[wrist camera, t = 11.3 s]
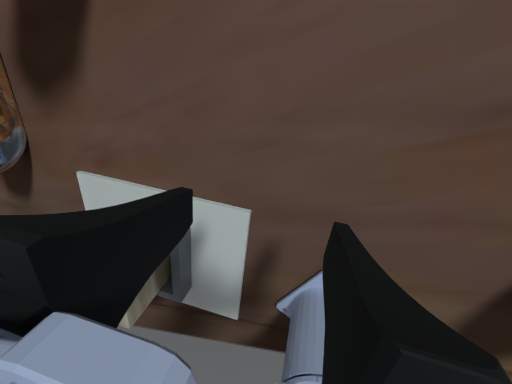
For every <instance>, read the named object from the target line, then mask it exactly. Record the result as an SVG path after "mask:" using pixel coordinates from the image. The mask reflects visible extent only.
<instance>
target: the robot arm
mask: <svg viewBox="0 0 512 384" xmlns="http://www.w3.org/2000/svg"><path fill="white" fill-rule="evenodd" d="M192 223H193V189H188V188H184V187H180V188H175V189H171V190H168V191H165V192H161V193H158V194H155V195H152V196H149V197H145V198H142V199H138V200H134V201H131V202H127V203H123V204H119V205H115V206H110V207H105V208H99V209H93V210H85V211H78V212H70V213H59V214H44V215H0V384H196V380H195V378H194V375H193V373H192V371H191V368H190V366H189V365H188V364H187V363H186V362H185V361H184V360H183V359H182V358H181V357H180V356H179V355H178V354H177V353H175V352H173V351H171V350H170V349H168V348H166V347H164V346H162V345H160V344H158V343H155V342H153V341H150V340H147V339H144V338H142V337H138V336H136V335H133V334H130V333H128V332H125V331H122V330H119V329H116V328H117V327H118V325H119V323H120V322H121V320H122V318H123V317H124V315H125V313H126V312H127V310H128V309H129V307H130V306H131V304H132V303H133V301H134V300H135V298H136V297H137V295H138V293H139V292H140V291H141V289H142V288H143V286H144V285H145V283H146V282H147V280H148V279H149V278H150V276H151V275H152V274H153V272H154V271H155V270H156V269H157V267H158V266H159V265H160V264H161V263H162V262H163V261H164V259H165V258H166V257H167V256H168V255H169V254H170V253H171V251H172V250H173V249H174V248H175V247H176V246H177V244H178V243H179V242H180V241H181V240H182V238H183V237H184V236H185V234H186V233H187V231H188V230H189V228H190V226H191V225H192ZM276 307H277V309H279V310H280V311H281V312H283V313H284V314H285V315H287V316H288V317H289V318H290V325H289V332H288V339H287V346H286V353H285V361H284V368H283V375H282V382H281V383H274V384H512V382H511V381H510V379H509V377H508V376H507V374H506V372H505V371H504V369H503V368H502V366H501V364H500V363H499V361H498V360H497V359H496V358H495V357H493V356H492V355H490V354H489V353H487V352H486V351H484V350H483V349H481V348H480V347H478V346H477V345H475V344H473V343H472V342H470V341H469V340H467V339H466V338H464V337H463V336H461V335H460V334H458V333H457V332H455V331H454V330H453V329H451V328H450V327H449V326H447V325H446V324H444V323H443V322H442V321H440V320H439V319H438V318H436V317H435V316H434V315H432V314H431V313H430V312H429V311H427V310H426V309H425V308H424V307H422V306H421V305H420V304H419V303H418V302H416V301H415V300H414V299H413V298H412V297H410V296H409V295H408V294H407V293H406V292H405V291H404V290H403V289H402V288H400V287H399V286H398V285H397V284H396V283H395V282H394V281H393V280H392V279H391V278H390V277H389V276H388V275H387V274H386V273H385V272H384V270H383V269H382V268H381V267H380V266H379V265H378V264H377V262H376V261H375V260H374V259H373V258H372V257H371V255H370V254H369V253H368V252H367V250H366V249H365V248H364V246H363V245H362V244H361V242H360V241H359V239H358V238H357V237H356V235H355V234H354V232H353V231H352V230H351V228H350V227H349V225H347V224H343V223H339V222H334V224H333V228H332V231H331V234H330V237H329V240H328V244H327V247H326V250H325V253H324V260H323V271H321V272H319V273H318V274H316V275H315V276H314V277H312V278H311V279H309V280H308V281H307V282H305V283H304V284H302V285H301V286H300V287H298V288H297V289H295V290H294V291H293V292H291V293H290V294H288V295H287V296H286V297H284V298H283V299H281V300H280V301H279V302H277V305H276ZM284 308H285V309H284Z"/></svg>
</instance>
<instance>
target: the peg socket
mask: <svg viewBox="0 0 512 384" xmlns="http://www.w3.org/2000/svg"><path fill="white" fill-rule="evenodd" d="M76 173H77V177H78V181H79V185H80V189H81V193H82V197H83V202H84V206H85V210H93V209H99V208H105V207H110V206H115V205H119V204H123V203H127V202H131V201H134V200H138V199H142V198H145V197H149V196H152V195H155V194H158V193H161V192H165V191H166V190H162V189H158V188H153V187H149V186H145V185H141V184H136V183H132V182H128V181H123V180H119V179H115V178H110V177H106V176H102V175H97V174H93V173H89V172H84V171H78V172H76ZM250 218H251V210H248V209H244V208H240V207H235V206H231V205H227V204H223V203H218V202H214V201H210V200H205V199H201V198H197V197H193V223H192V225H191V226H190V228H189V230H188V231H187V233H186V234H185V236H184V237H183V238H182V240H181V241H180V242H179V243H178V244H177V246H176V247H175V248H174V249H173V250H172V251H171V253H170V258H171V273H172V275H171V276H170V278H169V279H168V280H167V282H166V283H165V284H164V285H163V287H162V288H161V289H160V291H159V292H158V293H157V296H160V297H163V298H166V299H169V300H172V301H176V302H179V303H185V304H188V305H191V306H194V307H198V308H201V309H204V310H207V311H210V312H213V313H216V314H220V315H223V316H226V317H229V318H232V319H235V320H238V317H239V310H240V301H241V293H242V285H243V276H244V268H245V259H246V251H247V243H248V234H249V226H250Z"/></svg>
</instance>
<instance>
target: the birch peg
mask: <svg viewBox="0 0 512 384" xmlns="http://www.w3.org/2000/svg"><path fill="white" fill-rule="evenodd" d="M171 275H172V273H171V258H170V254H169V255H168V256H167V257H166V258H165V259H164V261H163V262H162V263H161V264H160V265H159V266H158V267H157V269H156V270H155V271H154V272H153V274H152V275H151V276H150V278H149V279H148V280H147V282H146V283H145V285H144V286H143V288H142V289H141V291H140V292H139V293H138V295H137V297H136V298H135V300H134V301H133V303H132V304H131V306H130V307H129V309H128V310H127V312H126V313H125V315H124V317H123V318H122V320H121V322H120V323H119V325H120V326H123V327H126V328H129V329H130V328H131V327H132V326H133V324H134V323H135V322H136V320H137V319H138V318H139V317H140V315H141V314H142V313H143V311H144V310H145V309H146V308H147V306H148V305H149V304H150V302H151V301H152V300H153V298H154V297H155V296H156V295H157V293H158V292H159V291H160V289H161V288H162V287H163V285H164V284H165V283H166V282H167V280H168V279H169V278H170V276H171Z"/></svg>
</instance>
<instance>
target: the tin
mask: <svg viewBox="0 0 512 384" xmlns="http://www.w3.org/2000/svg"><path fill="white" fill-rule="evenodd" d="M26 143H27V135H26V131H25V127H24V124H23V122H22V118H21V116H20V113H19V110H18V107H17V104H16V101H15V98H14V95H13V92H12V89H11V86H10V83H9V80H8V77H7V74H6V71H5V67H4V65H3V61H2V59H1V56H0V173H2V172H4V171H6V170H8V169H9V168H11V167H12V166H13V165H15V164H16V163H17V162H18V160H19V159H20V158H21V156H22V155H23V153H24V151H25V148H26Z"/></svg>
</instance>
